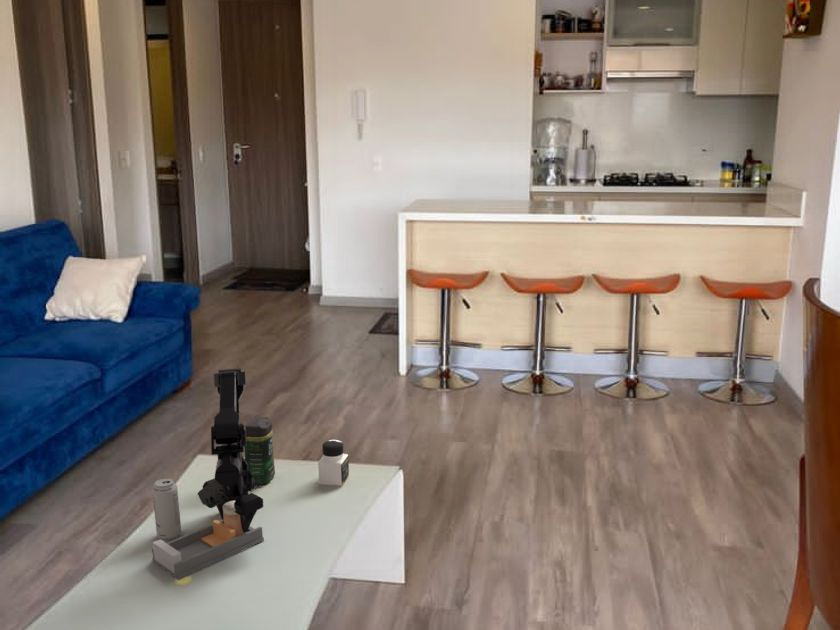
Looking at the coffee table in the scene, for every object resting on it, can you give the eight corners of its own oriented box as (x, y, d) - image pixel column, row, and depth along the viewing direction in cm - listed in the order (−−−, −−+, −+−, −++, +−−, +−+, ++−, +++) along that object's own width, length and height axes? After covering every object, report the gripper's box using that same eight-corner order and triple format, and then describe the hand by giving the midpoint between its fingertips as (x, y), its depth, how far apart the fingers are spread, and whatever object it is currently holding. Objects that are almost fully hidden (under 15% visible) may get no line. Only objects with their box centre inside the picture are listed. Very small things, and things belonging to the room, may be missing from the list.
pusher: (200, 540, 199) (199, 526, 198) (217, 533, 203) (216, 519, 202) (219, 552, 194) (218, 537, 193) (236, 544, 197) (235, 530, 196)
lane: (152, 561, 192) (150, 540, 191) (237, 525, 209) (235, 506, 208) (178, 579, 184) (175, 558, 183) (263, 540, 201) (262, 520, 200)
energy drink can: (158, 531, 206) (153, 478, 203) (182, 529, 207) (177, 475, 204) (155, 543, 200) (150, 488, 197) (180, 540, 202) (175, 486, 198)
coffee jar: (269, 486, 231) (265, 426, 227) (242, 485, 232) (238, 425, 228) (278, 472, 241) (275, 414, 237) (253, 471, 242) (249, 413, 237)
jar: (239, 527, 206) (237, 498, 204) (251, 534, 202) (249, 505, 200) (220, 535, 202) (218, 505, 200) (233, 543, 198) (230, 512, 196)
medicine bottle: (342, 486, 231) (340, 447, 228) (318, 484, 232) (317, 446, 229) (349, 476, 238) (347, 438, 235) (326, 474, 239) (324, 436, 236)
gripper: (181, 468, 198) (186, 525, 202) (223, 490, 185) (227, 551, 189) (220, 454, 206) (224, 510, 209) (262, 475, 193) (266, 533, 197)
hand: (234, 525), depth 201 cm, fingers open, 9 cm apart
